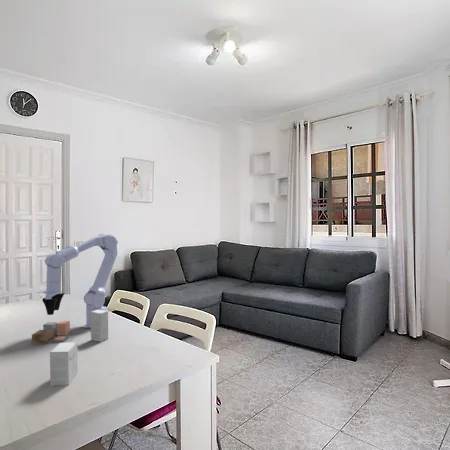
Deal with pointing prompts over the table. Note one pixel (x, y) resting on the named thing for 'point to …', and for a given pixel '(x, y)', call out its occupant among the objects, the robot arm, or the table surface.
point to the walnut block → (42, 336)
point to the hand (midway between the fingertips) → (53, 312)
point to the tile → (60, 339)
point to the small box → (63, 363)
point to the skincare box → (99, 325)
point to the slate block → (50, 326)
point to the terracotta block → (63, 327)
